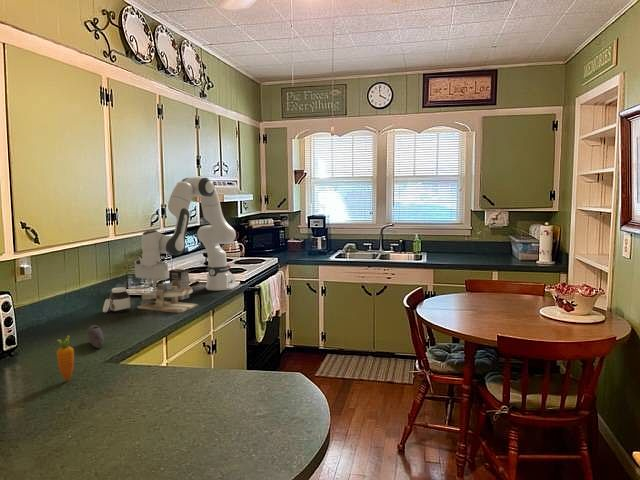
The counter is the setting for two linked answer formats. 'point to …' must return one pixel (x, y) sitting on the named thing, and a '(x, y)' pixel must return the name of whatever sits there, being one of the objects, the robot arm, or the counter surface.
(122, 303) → the spread jar
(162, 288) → the block
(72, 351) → the carrot
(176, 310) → the pivot stand
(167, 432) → the counter surface
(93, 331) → the perforated stone tool
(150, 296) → the beige long grooved bar
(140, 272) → the robot arm
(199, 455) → the counter surface
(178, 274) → the coffee box
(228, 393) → the counter surface
